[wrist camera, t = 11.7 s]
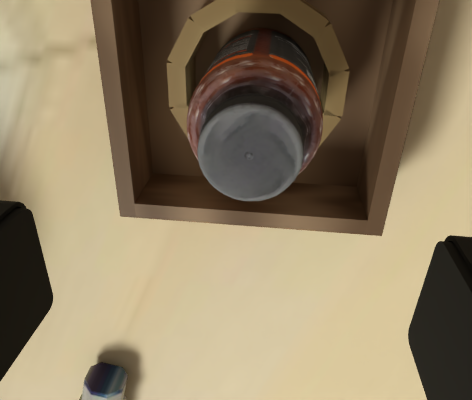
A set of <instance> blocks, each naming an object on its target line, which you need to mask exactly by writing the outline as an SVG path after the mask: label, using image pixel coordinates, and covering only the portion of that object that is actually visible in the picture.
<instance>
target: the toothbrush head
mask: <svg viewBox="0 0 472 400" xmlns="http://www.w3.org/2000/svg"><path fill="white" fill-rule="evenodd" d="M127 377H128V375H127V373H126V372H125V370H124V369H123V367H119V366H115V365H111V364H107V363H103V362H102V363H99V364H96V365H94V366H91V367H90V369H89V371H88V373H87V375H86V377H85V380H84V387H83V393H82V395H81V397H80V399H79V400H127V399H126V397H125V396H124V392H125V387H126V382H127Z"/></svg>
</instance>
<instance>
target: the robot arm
mask: <svg viewBox="0 0 472 400" xmlns="http://www.w3.org/2000/svg"><path fill="white" fill-rule="evenodd" d="M52 302H53V293H52V289H51V285H50V281H49V277H48V273H47V269H46V265H45V261H44V257H43V253H42V249H41V245H40V241H39V237H38V233H37V229H36V225H35V222H34V218H33V214H32V212H31V211H30V210H29V209H26V206H25V205H24V204H23V203H21V202H12V201H0V381H1V380H2V378H3V377H4V375H5V374H6V372H7V371H8V370H9V368H10V367H11V365H12V364H13V362H14V361H15V359H16V358H17V356H18V355H19V354H20V352H21V351H22V349H23V348H24V346H25V345H26V343H27V342H28V340H29V339H30V338H31V336H32V335H33V333H34V332H35V330H36V329H37V327H38V326H39V325H40V323H41V322H42V320H43V319H44V317H45V316H46V314H47V313H48V311H49V310H50V308H51V306H52ZM408 339H409V345H410V348H411V351H412V354H413V357H414V360H415V363H416V366H417V369H418V373H419V376H420V379H421V382H422V385H423V388H424V391H425V394H426V397H427V400H472V237H463V236H448V237H447V238H446V239H445V241H444V242H443V241H440V242H438V243H437V244H436V247H435V250H434V253H433V256H432V259H431V262H430V265H429V268H428V271H427V274H426V278H425V281H424V284H423V287H422V290H421V293H420V296H419V299H418V302H417V306H416V309H415V312H414V315H413V318H412V321H411V324H410V327H409V333H408Z"/></svg>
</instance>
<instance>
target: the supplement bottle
mask: <svg viewBox="0 0 472 400" xmlns="http://www.w3.org/2000/svg"><path fill="white" fill-rule="evenodd" d="M322 131H323V113H322V108H321V103H320V99H319V95H318V91H317V88H316V84H315V81H314V77H313V73H312V70H311V66H310V63H309V61H308V58H307V56H306V55H305V53H304V51H303V50H302V48H301V47H300V46H299V45H298V44H297V43H296V42H295V41H294V40H293V39H292V38H291V37H289V36H288V35H286V34H284V33H282V32H279V31H276V30H273V29H267V28H255V29H250V30H247V31H244V32H242V33H240V34H238V35H236V36H234V37H233V38H231V39H230V40H229V41H228V42H227V43H226V44H225V45H224V46H223V47H222V48H221V50H220V51H219V52H218V53H217V55H216V57H215V58H214V60H213V62H212V63H211V65H210V66H209V68H208V70H207V71H206V73H205V75H204V76H203V78H202V79H201V81H200V83H199V84H198V86H197V88H196V89H195V91H194V93H193V96H192V98H191V101H190V104H189V108H188V114H187V134H188V139H189V142H190V146H191V148H192V150H193V152H194V154H195V156H196V158H197V160H198V162H199V165H200V168H201V170H202V172H203V174H204V176H205V177H206V179H207V180H208V182H209V183H210V184H211V185H212V186H213V187H214V188H216V189H217V190H218V191H219V192H221V193H223V194H224V195H226V196H228V197H231V198H234V199H237V200H242V201H261V200H266V199H269V198H272V197H274V196H277V195H278V194H280V193H281V192H283V191H284V190H285V189H287V188H288V187H289V186H290V185H291V184H292V183H293V182H294V181H295V179H296V177H297V175H298V174H299V173H301V172H302V171H303V170H304V169H305V168H306V167H307V165H308V164H309V163H310V162H311V160H312V158H313V157H314V156H315V154H316V151H317V150H318V147H319V144H320V141H321V137H322Z"/></svg>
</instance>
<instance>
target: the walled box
mask: <svg viewBox="0 0 472 400" xmlns="http://www.w3.org/2000/svg"><path fill="white" fill-rule="evenodd" d="M438 4H439V0H91V6H92V14H93V21H94V28H95V35H96V43H97V50H98V57H99V65H100V72H101V79H102V86H103V94H104V101H105V108H106V116H107V123H108V130H109V138H110V145H111V152H112V159H113V167H114V174H115V181H116V189H117V196H118V203H119V210H120V216H122V217H136V218H149V219H162V220H176V221H189V222H203V223H216V224H229V225H243V226H256V227H270V228H283V229H296V230H310V231H323V232H337V233H350V234H363V235H377V236H382V233H383V229H384V225H385V220H386V216H387V212H388V208H389V204H390V200H391V196H392V192H393V188H394V184H395V180H396V176H397V172H398V168H399V163H400V159H401V155H402V151H403V147H404V143H405V139H406V135H407V131H408V127H409V123H410V119H411V115H412V110H413V106H414V102H415V98H416V94H417V90H418V86H419V82H420V78H421V74H422V70H423V66H424V62H425V57H426V53H427V49H428V45H429V41H430V37H431V33H432V29H433V25H434V21H435V17H436V13H437V9H438ZM255 28H267V29H273V30H276V31H279V32H282V33H284V34H286V35H288V36H289V37H291V38H292V39H293V40H294V41H295V42H296V43H297V44H298V45H299V46H300V47H301V48H302V50H303V51H304V53H305V55H306V56H307V58H308V61H309V63H310V66H311V70H312V73H313V77H314V81H315V84H316V88H317V91H318V95H319V99H320V103H321V108H322V113H323V131H322V137H321V141H320V144H319V147H318V150H317V151H316V154H315V156H314V157H313V158H312V160H311V162H310V163H309V164H308V165H307V167H306V168H305V169H304V170H303V171H302V172H301V173H299V174H298V175H297V177H296V179H295V181H294V182H293V183H292V184H291V185H290V186H289V187H288V188H287V189H285V190H284V191H283V192H281V193H280V194H278V195H277V196H274V197H272V198H269V199H266V200H261V201H242V200H237V199H234V198H231V197H228V196H226V195H224V194H223V193H221V192H219V191H218V190H217V189H216V188H214V187H213V186H212V185H211V184H210V183H209V182H208V180H207V179H206V177H205V176H204V174H203V172H202V170H201V168H200V165H199V162H198V160H197V158H196V156H195V154H194V152H193V150H192V148H191V146H190V142H189V139H188V134H187V114H188V108H189V104H190V101H191V98H192V96H193V93H194V91H195V89H196V88H197V86H198V84H199V83H200V81H201V79H202V78H203V76H204V75H205V73H206V71H207V70H208V68H209V66H210V65H211V63H212V62H213V60H214V58H215V57H216V55H217V53H218V52H219V51H220V50H221V48H222V47H223V46H224V45H225V44H226V43H227V42H228V41H229V40H230V39H231V38H233V37H234V36H236V35H238V34H240V33H242V32H244V31H247V30H250V29H255Z"/></svg>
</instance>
